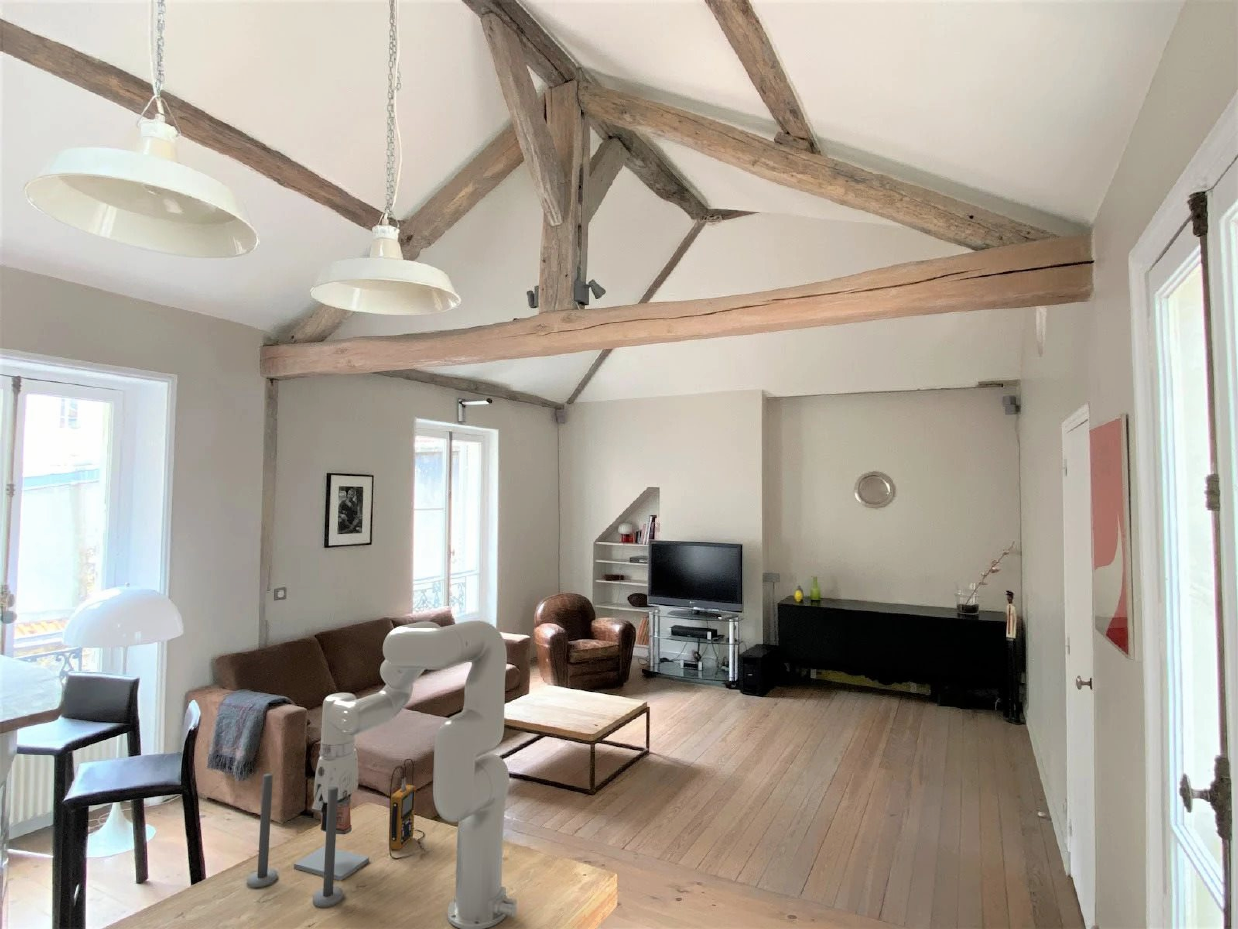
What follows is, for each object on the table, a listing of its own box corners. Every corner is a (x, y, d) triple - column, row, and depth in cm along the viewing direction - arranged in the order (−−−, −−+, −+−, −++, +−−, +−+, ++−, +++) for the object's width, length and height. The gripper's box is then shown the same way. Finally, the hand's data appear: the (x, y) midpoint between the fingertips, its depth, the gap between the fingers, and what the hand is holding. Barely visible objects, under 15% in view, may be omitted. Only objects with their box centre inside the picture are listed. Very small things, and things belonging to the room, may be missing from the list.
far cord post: (283, 876, 150) (288, 772, 152) (260, 890, 144) (266, 782, 146) (263, 871, 152) (269, 768, 154) (240, 884, 146) (246, 778, 148)
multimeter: (418, 863, 157) (421, 776, 158) (380, 857, 159) (384, 772, 160) (446, 834, 171) (449, 755, 173) (411, 829, 173) (414, 751, 175)
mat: (369, 861, 157) (369, 857, 157) (341, 881, 149) (341, 876, 149) (323, 850, 162) (323, 846, 162) (293, 868, 153) (294, 863, 154)
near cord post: (349, 894, 143) (354, 785, 145) (328, 910, 138) (333, 796, 139) (327, 888, 145) (332, 781, 147) (306, 903, 140) (311, 792, 142)
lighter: (317, 830, 156) (315, 789, 156) (327, 822, 160) (325, 782, 159) (345, 836, 154) (343, 794, 154) (355, 828, 157) (353, 787, 157)
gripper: (323, 762, 148) (319, 846, 147) (373, 739, 163) (370, 815, 162) (298, 757, 151) (293, 840, 150) (349, 735, 166) (346, 810, 165)
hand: (333, 826), depth 156 cm, fingers closed on lighter, 2 cm apart
